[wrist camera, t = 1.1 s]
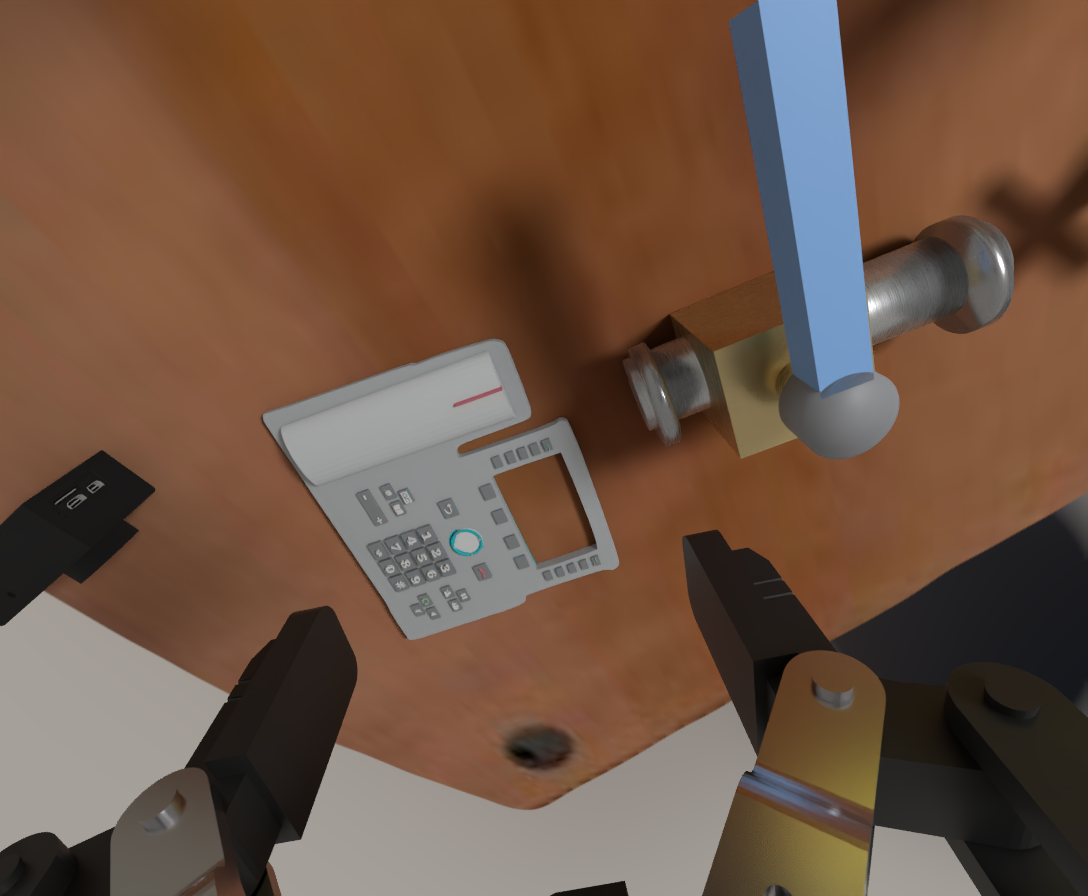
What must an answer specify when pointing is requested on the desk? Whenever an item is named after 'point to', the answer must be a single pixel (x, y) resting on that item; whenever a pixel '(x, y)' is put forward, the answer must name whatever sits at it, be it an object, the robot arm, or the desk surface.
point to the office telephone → (436, 484)
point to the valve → (760, 341)
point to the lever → (812, 222)
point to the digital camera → (67, 530)
